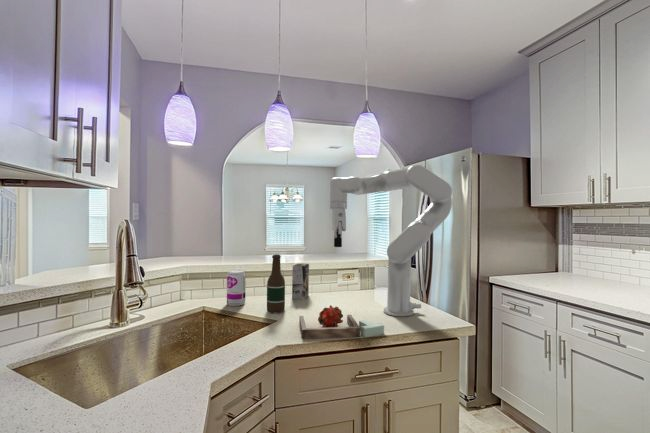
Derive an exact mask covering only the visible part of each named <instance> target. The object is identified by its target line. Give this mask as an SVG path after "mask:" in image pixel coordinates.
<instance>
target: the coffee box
mask: <svg viewBox="0 0 650 433" xmlns="http://www.w3.org/2000/svg"><path fill="white" fill-rule="evenodd" d="M309 271H310V264H309V263H296V264H294V265H292V278H291V279H292V280H291V282H292V283H291V285H292V286H291V298H292V299H295V300H305V299H306V298H307V297H308V296H309V295H310V294H309V292H310V290H309V289H310V288H309V286H310V285H309V284H310V283H309V281H310V280H309V278H310V272H309Z"/></svg>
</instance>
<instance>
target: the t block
mask: <svg viewBox="0 0 650 433" xmlns="http://www.w3.org/2000/svg"><path fill="white" fill-rule="evenodd" d="M358 322H359V323H358V325H359V327H360V336H362V337H363V338H369V337H373V336H380V335H384V334H385V325H384V324H382V323H379V322H378V323H375V324H374V323H371V322H370V321H368V320H366V319H364V320H358Z"/></svg>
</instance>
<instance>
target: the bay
mask: <svg viewBox="0 0 650 433" xmlns="http://www.w3.org/2000/svg"><path fill="white" fill-rule="evenodd" d="M346 316H347V317H346V320H347V321H346V323H347V325H348V326H337V327H329V328H322V327H307V326H306V325H307V324H306V321H305V316H304V315H299V318H298V320H299V321H298V322H299V324H298V325H299V329H300V334H301V339H302V340H303V339H304V340H305V339H306V340H307V339H326V338H328V339H330V338H357V337H358V338H359V337H361V330H360V327H359V323H357V321H356V319H355V318H354V316H352V314H346Z"/></svg>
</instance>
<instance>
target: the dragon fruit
mask: <svg viewBox="0 0 650 433" xmlns="http://www.w3.org/2000/svg"><path fill="white" fill-rule="evenodd" d="M318 315H319V316H318V318H317V322H318V323H319V325H321V328H329V327H338V324H342V323H343V322H344V320H343V317H344V315H343V312H342V309H341V308H339V306H335V307H333V305H329V307H324V308H323V309H322V311H319V314H318Z"/></svg>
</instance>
